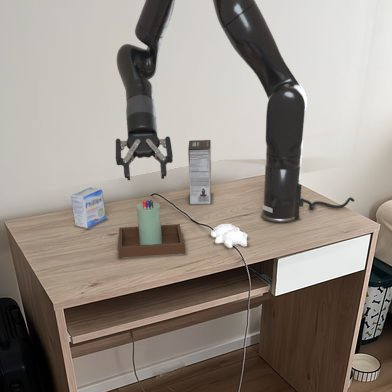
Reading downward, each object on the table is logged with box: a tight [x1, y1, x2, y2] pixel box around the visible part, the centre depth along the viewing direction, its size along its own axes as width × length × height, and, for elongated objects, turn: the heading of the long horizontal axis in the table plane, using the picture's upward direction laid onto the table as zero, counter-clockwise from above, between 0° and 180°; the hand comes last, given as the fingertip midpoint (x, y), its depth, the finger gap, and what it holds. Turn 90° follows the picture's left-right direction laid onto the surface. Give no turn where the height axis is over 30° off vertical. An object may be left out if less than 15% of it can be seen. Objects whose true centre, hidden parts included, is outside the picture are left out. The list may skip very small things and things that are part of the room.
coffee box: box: [187, 139, 212, 205], centre depth 158 cm, size 9×6×16 cm
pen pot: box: [136, 199, 162, 245], centre depth 132 cm, size 6×6×12 cm
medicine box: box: [70, 186, 106, 229], centre depth 147 cm, size 8×4×9 cm, turn 148°
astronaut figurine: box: [210, 223, 248, 249], centre depth 137 cm, size 9×12×3 cm
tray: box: [118, 223, 185, 259], centre depth 135 cm, size 16×13×3 cm
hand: (145, 178), depth 136 cm, fingers open, 8 cm apart
